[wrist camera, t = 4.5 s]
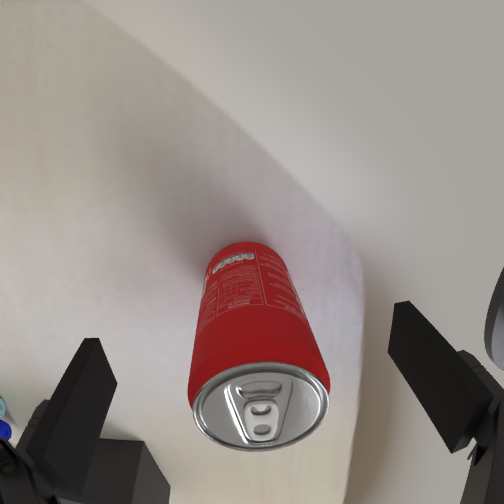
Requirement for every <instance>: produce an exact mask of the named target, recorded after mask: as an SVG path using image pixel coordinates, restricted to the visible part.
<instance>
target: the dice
mask: <svg viewBox="0 0 504 504" xmlns="http://www.w3.org/2000/svg"><path fill="white" fill-rule="evenodd" d="M5 411H6V407H5V403H4V401H3V400H2V398H1V397H0V418H1V417H2V416H4V414H5ZM11 434H12V431H11V427H10V425H9V424H8V423H6V422H5V421H3V420H1V419H0V437H4V438H5V439H7V440H9V439H10V438H11Z"/></svg>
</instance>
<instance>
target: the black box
mask: <svg viewBox="0 0 504 504" xmlns="http://www.w3.org/2000/svg"><path fill="white" fill-rule="evenodd" d="M55 493H56V495H57V496H58V497H59V499H60V501H61V503H62V504H169V496H170V485H169V484H168V482H167V481H166V479H165V477H164V476H163V474H162V473H161V471H160V469H159V467H158V466H157V464H156V462H155V461H154V459H153V457H152V455H151V454H150V452H149V450H148V448H147V447H146V445H145V443H144V442H143V441H123V440H109V439H98V443H97V446H96V449H95V452H94V455H93V459H92V462H91V465H90V469H89V472H88V475H87V479H86V482H85V486H84V489H83V493H82V497H77V496H73V495H68V494H64V493H63V492H62V491H61V490H60V489H59V488H58V487H57V486H56V489H55Z"/></svg>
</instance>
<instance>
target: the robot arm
mask: <svg viewBox="0 0 504 504" xmlns="http://www.w3.org/2000/svg"><path fill="white" fill-rule="evenodd" d="M388 354H389V355H390V356H391V358H392V359H393V361H394V363H395V364H396V366H397V367H398V369H399V370H400V372H401V373H402V374H403V376H404V378H405V380H406V381H407V382H408V384H409V386H410V387H411V389H412V390H413V392H414V394H415V395H416V397H417V398H418V400H419V402H420V403H421V405H422V406H423V408H424V409H425V411H426V412H427V414H428V416H429V418H430V419H431V421H432V422H433V424H434V426H435V427H436V429H437V431H438V432H439V434H440V436H441V437H442V439H443V440H444V442H445V444H446V446H447V447H448V449H449V451H450V453H451V454H452V453H454V452H456V451H459V450H461V449H463V448H465V447H467V446H468V444H469V443H470V441H471V439H472V438H473V437H474V438H475V440H476V442H477V443H476V445H475V447H474V448H473V450H472V451H471V453H470V454H469V456H468V458H467V459H468V460H470V458H471V456H472V455H473V456H472V461H471V465H470V470H469V473H468V477H467V481H466V485H465V489H464V492H463V496H462V499H461V502H460V504H504V389H503V388H502V387H501V386H500V384H499V383H498V382H497V381H496V380H495V379H494V378H493V376H492V375H491V374H490V373H489V372H488V371H486V369H485V368H484V366H483V365H481V363H480V362H479V361H478V360H477V359H476V358H475V357H474V356H473V355H472V354H470V353H468V352H466V351H465V350H462V351H458V352H457V351H456V350H455V349H454V348H453V347H452V346H451V345H450V344H449V343H448V342H447V340H446V339H445V338H444V337H443V336H442V335H441V334H440V333H439V332H438V331H437V330H436V329H435V327H434V326H433V325H432V324H431V323H430V322H429V321H428V320H427V319H426V318H425V317H424V316H423V315H422V314H421V313H420V312H419V311H418V310H417V308H416V307H415V306H414V305H413V304H412V303H411V302H410V301H405V302H399V303H395V304H394V312H393V320H392V327H391V334H390V340H389V346H388ZM117 384H118V383H117V381H116V379H115V377H114V374H113V372H112V370H111V367H110V365H109V362H108V360H107V358H106V355H105V353H104V350H103V348H102V345H101V342H100V340H99V338H84V340H83V342H82V343H81V345H80V347H79V348H78V350H77V352H76V354H75V355H74V357H73V359H72V361H71V362H70V364H69V366H68V368H67V369H66V371H65V373H64V375H63V377H62V378H61V380H60V382H59V384H58V386H57V388H56V389H55V391H54V393H53V395H52V397H51V399H50V400H45V399H44V400H43V401H42V402H41V403H40V404H39V405H38V406H37V407H36V409H35V411H34V413H33V415H32V416H31V417H32V418H30V420H29V422H28V426H26V428H25V430H24V432H23V434H22V436H21V438H20V440H19V442H18V444H17V446H16V448H15V449H14V447H13V446H12V445H11V444H10V442H9V441H8V440H7V439H5V438H4V437H0V504H62V503H61V501H60V499H59V497H58V496H57V495H56V493H55V489H56V486H57V487H58V488H59V489H60V490H61V491H62V492H63V493H64V494H68V495H73V496H77V497H82V493H83V489H84V486H85V482H86V479H87V475H88V472H89V469H90V465H91V462H92V459H93V455H94V452H95V449H96V446H97V443H98V439H99V436H100V433H101V430H102V427H103V424H104V421H105V418H106V415H107V412H108V409H109V407H110V404H111V401H112V398H113V395H114V392H115V390H116V387H117Z"/></svg>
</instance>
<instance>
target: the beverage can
mask: <svg viewBox="0 0 504 504" xmlns="http://www.w3.org/2000/svg"><path fill="white" fill-rule="evenodd" d="M329 392H330V378H329V374H328V371H327V369H326V366H325V363H324V361H323V358H322V356H321V353H320V351H319V348H318V345H317V343H316V340H315V338H314V335H313V333H312V330H311V328H310V325H309V323H308V320H307V318H306V315H305V313H304V310H303V308H302V305H301V303H300V300H299V298H298V295H297V293H296V290H295V288H294V285H293V283H292V280H291V278H290V275H289V273H288V270H287V268H286V266H285V264H284V262H283V260H282V259H281V257H280V256H279V255H278V254H277V253H276V252H275V251H274V250H272V249H271V248H269V247H267V246H265V245H262V244H259V243H254V242H241V243H236V244H233V245H230V246H228V247H226V248H224V249H222V250H221V251H220V252H218V253H217V254H216V255H215V256H214V258H213V259H212V260H211V262H210V263H209V265H208V268H207V270H206V274H205V280H204V286H203V292H202V298H201V304H200V310H199V316H198V323H197V329H196V336H195V342H194V349H193V355H192V362H191V369H190V376H189V383H188V400H189V404H190V407H191V409H192V411H193V417H194V420H195V423H196V425H197V426H198V428H199V429H200V431H201V432H202V433H203V434H204V435H205V436H206V437H208V438H209V439H211V440H212V441H214V442H215V443H217V444H219V445H222V446H224V447H227V448H231V449H235V450H240V451H248V452H262V451H271V450H276V449H280V448H284V447H287V446H290V445H292V444H295V443H297V442H299V441H301V440H303V439H304V438H306V437H307V436H309V435H310V434H312V433H313V432H314V431H316V429H317V428H318V427H319V426H320V425H321V423H322V422H323V420H324V419H325V417H326V415H327V412H328V408H329Z"/></svg>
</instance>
